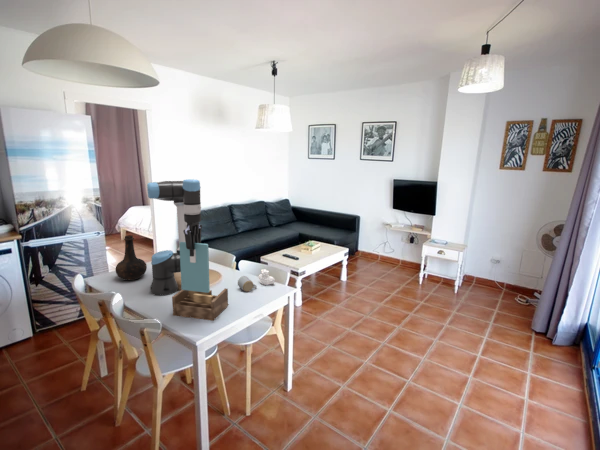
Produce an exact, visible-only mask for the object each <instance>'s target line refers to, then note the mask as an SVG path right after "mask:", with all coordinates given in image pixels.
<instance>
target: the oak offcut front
mask: <svg viewBox="0 0 600 450" xmlns="http://www.w3.org/2000/svg"><path fill="white" fill-rule="evenodd" d="M212 300H213V294H212V295H204V294H196V293H195V294H193V301H194V303H202V304H210V305H211V301H212Z"/></svg>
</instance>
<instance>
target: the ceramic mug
mask: <svg viewBox="0 0 600 450" xmlns="http://www.w3.org/2000/svg"><path fill="white" fill-rule="evenodd" d="M237 286H238V288H240V289H241V290H242V291H244V292H247V293H248V292H251V291H252V289H254V290H255V289H257V285H256V284H254V283H253V281H252V280H251V279H250V278H249V276H246V275H243V276H241V277H239V278H238V280H237Z"/></svg>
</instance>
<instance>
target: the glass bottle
mask: <svg viewBox="0 0 600 450" xmlns="http://www.w3.org/2000/svg"><path fill="white" fill-rule="evenodd" d="M123 240H124V246H125V247H124V256H123V259H122V260H120V261H119V262H118V263H117V264H116V266H115V273H116V276H117V277H119V279H121V280H123V281H135V280H138V279H140V278H141V277H143V276H144V275H145V273H146V271H147V266H148V265H147V262H145V260H144V259H142V258H138V257H137V256H136V252H135V247H134V246H135V245H134V240H135V238H134V237H133V235H132V234H131V235H125V236H124V238H123Z"/></svg>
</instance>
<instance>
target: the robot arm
mask: <svg viewBox="0 0 600 450" xmlns="http://www.w3.org/2000/svg"><path fill="white" fill-rule="evenodd" d="M146 188H147V197H148V199H152V200H153V199H155V200H159V201H166V202H173V205H174V206H175V207H176V217H177V218H176V219H177V233H178V243H179V242H186V248H187V249H189V250H190V262H192V263H196V249H195V243H202V229H203V224H200V222H201V221H202V213H201V212H202V210H201V209H202V205H201V203H202V202H201V181H200V180H198V179H194V178H193V179H183V180H172V181H171V180H163V181H159V182H158V181H154V182H148V183H147V185H146ZM150 264H151V271H152V272H151V273H152V280H151V285H150V287H149V292H150V294H151V295H154V296H159V297H161V296H167V295H172V294H175V293H176V292H178V290H179V284H178V282H177V280H176V277H175V274H176V273H181V266H180V246H179V245H178V247H177V249H176V252H173V250H170V249H169V250H168V249H166V250H162V251H159V252H158V251H157V252H155V253H154V254H152V255H151V263H150Z"/></svg>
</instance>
